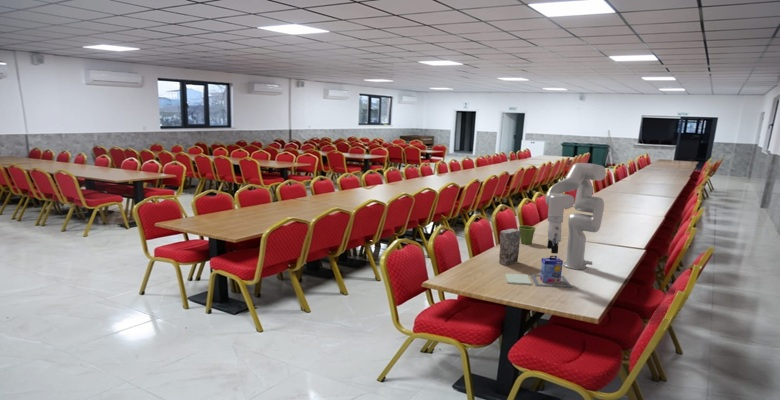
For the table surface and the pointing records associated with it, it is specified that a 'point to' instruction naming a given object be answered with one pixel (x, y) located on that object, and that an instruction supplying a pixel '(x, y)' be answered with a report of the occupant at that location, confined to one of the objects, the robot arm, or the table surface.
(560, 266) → the ink cartridge box
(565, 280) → the marked spot frame
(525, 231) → the plant pot
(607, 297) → the table surface
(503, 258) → the stone block
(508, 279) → the sage board
